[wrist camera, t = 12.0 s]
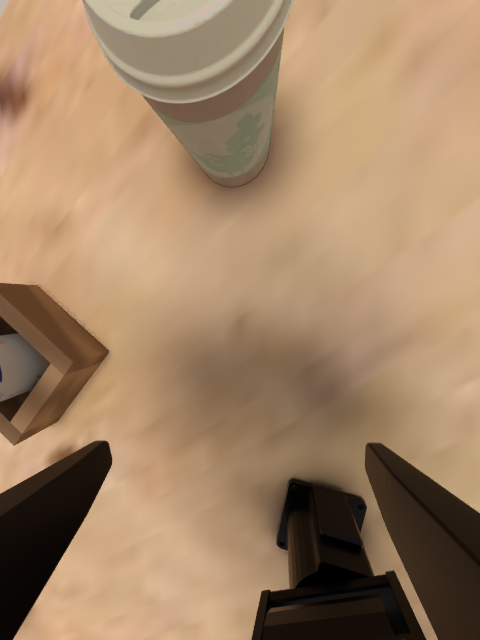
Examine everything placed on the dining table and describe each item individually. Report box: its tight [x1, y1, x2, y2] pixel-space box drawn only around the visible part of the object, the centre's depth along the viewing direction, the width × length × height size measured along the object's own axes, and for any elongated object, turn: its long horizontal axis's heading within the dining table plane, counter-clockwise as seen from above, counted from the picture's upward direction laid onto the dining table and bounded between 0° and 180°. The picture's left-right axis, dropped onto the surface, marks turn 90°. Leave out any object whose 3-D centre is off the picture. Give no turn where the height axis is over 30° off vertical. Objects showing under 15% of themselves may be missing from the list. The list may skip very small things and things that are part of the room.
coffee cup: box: [82, 0, 294, 187], centre depth 13 cm, size 8×8×12 cm
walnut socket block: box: [0, 283, 109, 445], centre depth 21 cm, size 10×10×4 cm
